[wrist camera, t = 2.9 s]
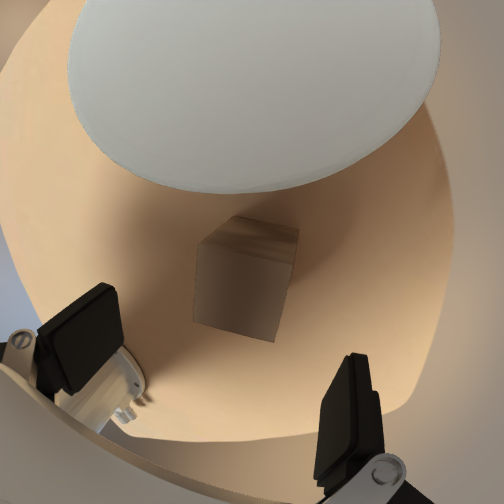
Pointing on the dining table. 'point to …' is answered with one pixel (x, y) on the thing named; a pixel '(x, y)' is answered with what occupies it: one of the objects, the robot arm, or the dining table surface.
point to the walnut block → (244, 277)
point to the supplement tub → (248, 86)
